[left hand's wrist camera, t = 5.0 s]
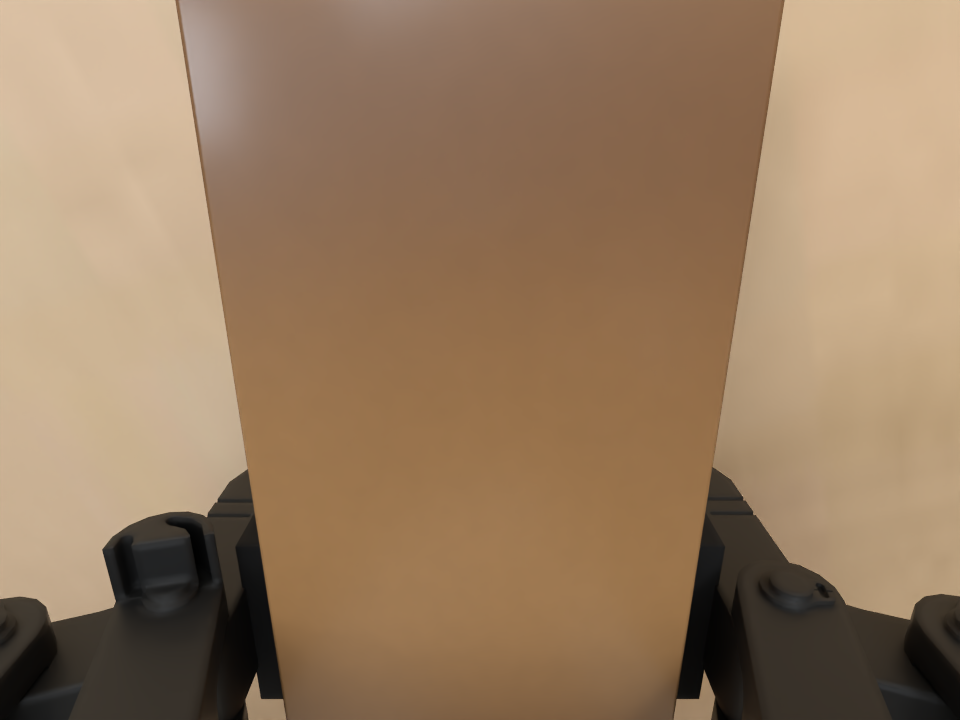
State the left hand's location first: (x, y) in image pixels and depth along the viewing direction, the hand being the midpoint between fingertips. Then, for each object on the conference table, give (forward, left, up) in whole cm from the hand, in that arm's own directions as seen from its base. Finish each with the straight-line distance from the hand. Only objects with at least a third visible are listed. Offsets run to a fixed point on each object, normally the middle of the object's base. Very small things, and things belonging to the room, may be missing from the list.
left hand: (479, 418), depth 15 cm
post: (+7, -20, -1) cm, 21 cm away
